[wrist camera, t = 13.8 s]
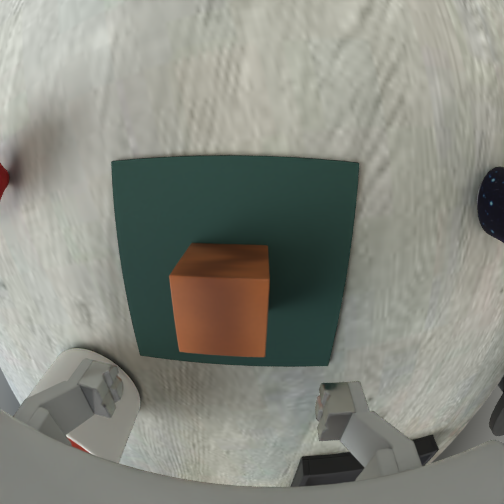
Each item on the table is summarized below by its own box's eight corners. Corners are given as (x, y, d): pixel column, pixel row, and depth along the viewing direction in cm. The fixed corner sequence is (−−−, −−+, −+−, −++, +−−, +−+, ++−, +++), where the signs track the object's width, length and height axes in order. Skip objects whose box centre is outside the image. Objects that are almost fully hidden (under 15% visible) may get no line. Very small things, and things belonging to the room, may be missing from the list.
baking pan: (432, 434, 28) (439, 449, 25) (394, 479, 34) (397, 491, 31) (301, 456, 28) (303, 475, 26) (287, 494, 34) (287, 508, 31)
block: (268, 244, 18) (269, 279, 14) (265, 311, 20) (265, 358, 16) (191, 242, 19) (168, 275, 14) (195, 308, 20) (179, 352, 16)
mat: (357, 162, 17) (359, 163, 16) (327, 362, 22) (328, 366, 22) (113, 160, 17) (111, 161, 17) (141, 352, 23) (140, 355, 22)
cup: (143, 420, 27) (118, 490, 17) (68, 388, 26) (33, 447, 17) (146, 365, 23) (107, 453, 14) (57, 327, 23) (1, 393, 13)
